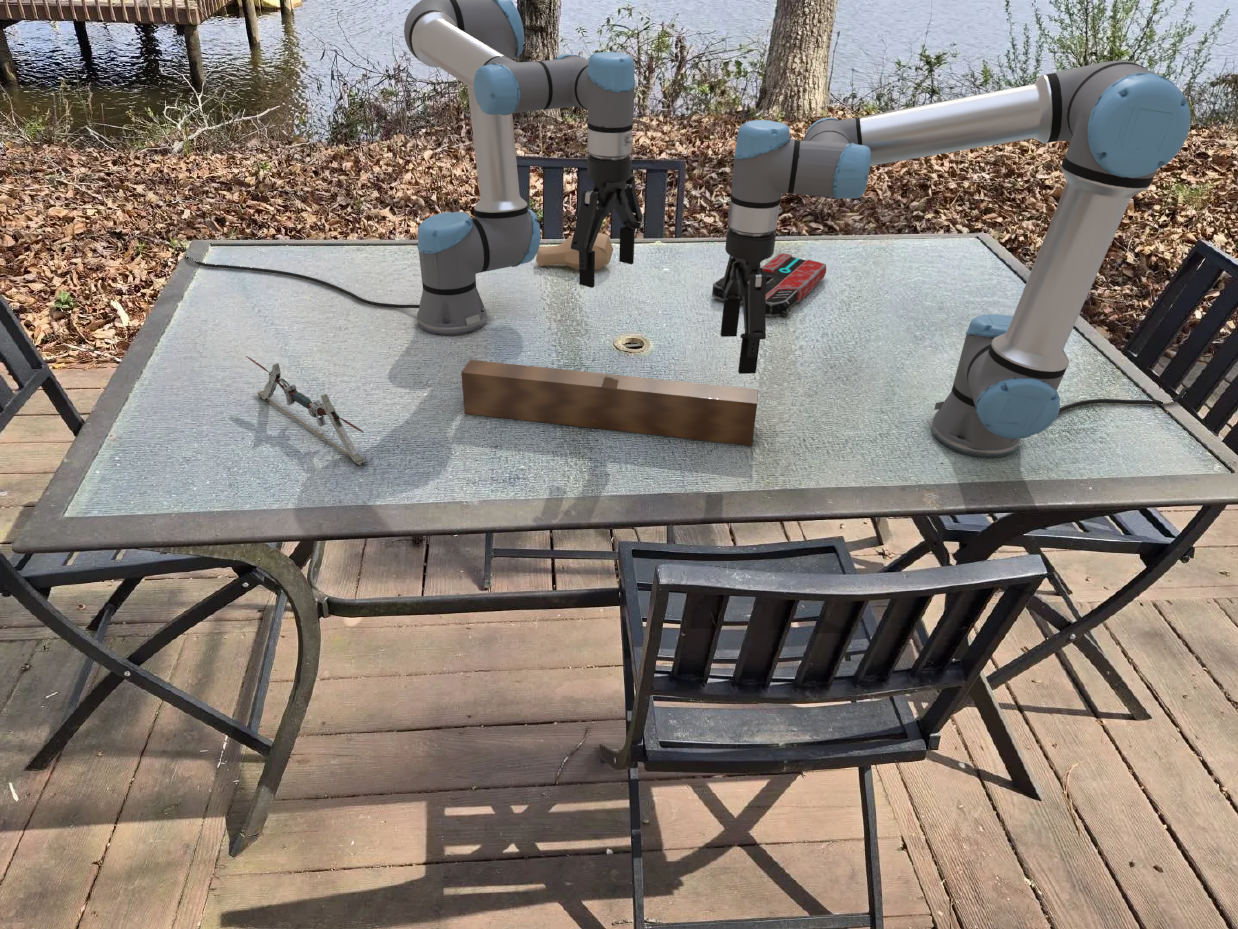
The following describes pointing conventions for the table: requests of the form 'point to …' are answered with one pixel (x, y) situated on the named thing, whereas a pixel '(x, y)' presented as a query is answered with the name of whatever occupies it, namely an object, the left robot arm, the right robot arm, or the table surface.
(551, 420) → the beam
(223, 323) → the table surface
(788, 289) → the gun
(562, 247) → the squash
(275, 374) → the bow
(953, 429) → the right robot arm
